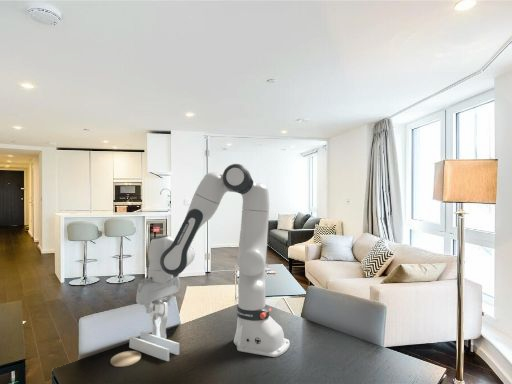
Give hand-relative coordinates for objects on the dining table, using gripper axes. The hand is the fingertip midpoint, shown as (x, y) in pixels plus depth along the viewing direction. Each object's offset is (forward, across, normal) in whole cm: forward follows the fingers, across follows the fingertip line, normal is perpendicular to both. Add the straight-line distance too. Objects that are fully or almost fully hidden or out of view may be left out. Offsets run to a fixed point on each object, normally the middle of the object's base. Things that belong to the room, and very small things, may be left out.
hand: (158, 309), depth 123 cm
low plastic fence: (+12, -8, -6) cm, 16 cm away
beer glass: (+12, 0, 0) cm, 12 cm away
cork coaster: (+12, -17, -2) cm, 21 cm away
